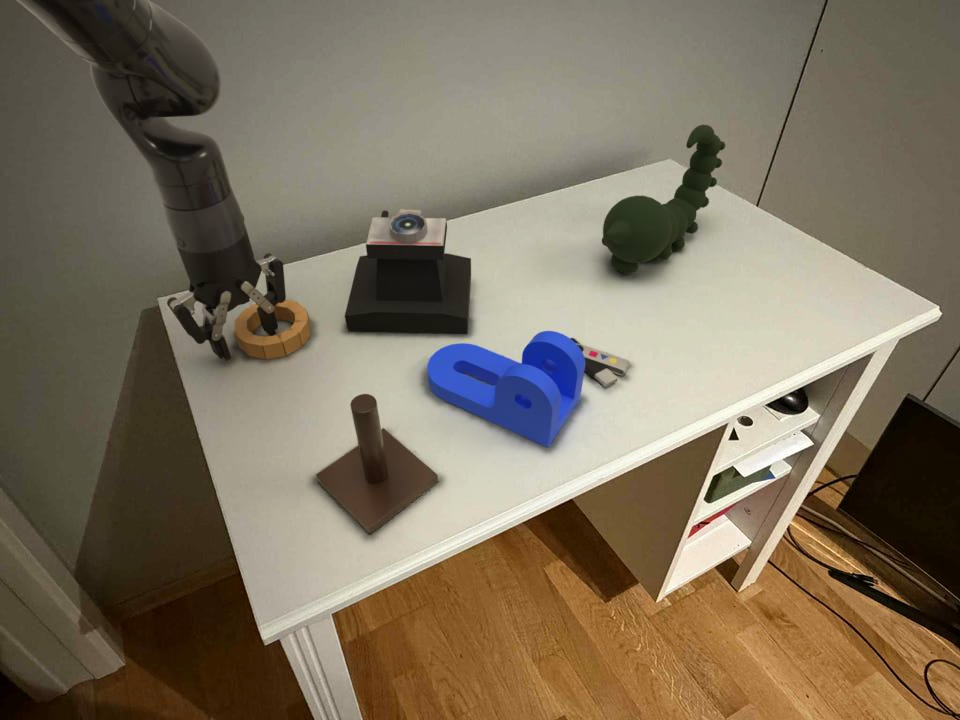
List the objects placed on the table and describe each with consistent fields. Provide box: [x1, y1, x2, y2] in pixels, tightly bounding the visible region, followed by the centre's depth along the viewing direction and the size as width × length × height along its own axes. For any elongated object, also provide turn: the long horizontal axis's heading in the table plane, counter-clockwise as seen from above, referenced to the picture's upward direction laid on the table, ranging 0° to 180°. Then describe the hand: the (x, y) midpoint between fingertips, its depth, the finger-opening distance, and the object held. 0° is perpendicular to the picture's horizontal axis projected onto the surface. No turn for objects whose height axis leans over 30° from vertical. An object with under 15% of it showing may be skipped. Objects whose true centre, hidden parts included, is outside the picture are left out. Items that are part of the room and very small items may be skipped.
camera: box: [344, 209, 472, 335], centre depth 84 cm, size 16×14×15 cm
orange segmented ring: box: [233, 299, 312, 360], centre depth 83 cm, size 9×9×2 cm
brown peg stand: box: [315, 393, 439, 535], centre depth 63 cm, size 9×9×12 cm
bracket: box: [427, 330, 586, 448], centre depth 73 cm, size 18×8×9 cm, turn 59°
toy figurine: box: [601, 124, 726, 275], centre depth 92 cm, size 9×19×25 cm
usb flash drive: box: [569, 337, 630, 388], centre depth 80 cm, size 9×5×1 cm, turn 33°
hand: (247, 344), depth 81 cm, fingers open, 5 cm apart
